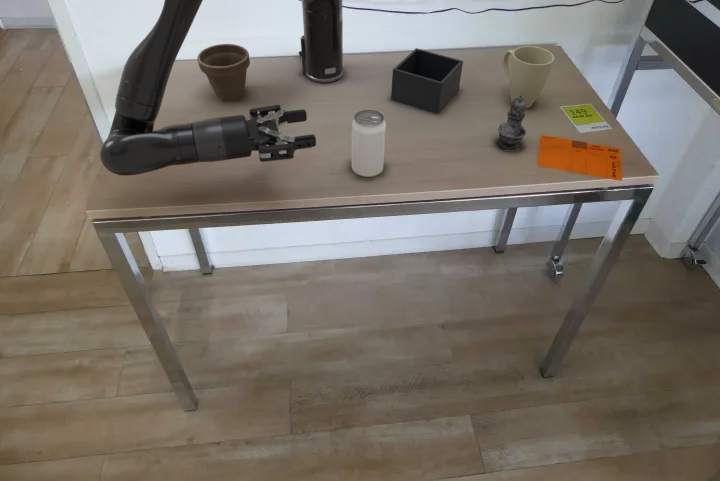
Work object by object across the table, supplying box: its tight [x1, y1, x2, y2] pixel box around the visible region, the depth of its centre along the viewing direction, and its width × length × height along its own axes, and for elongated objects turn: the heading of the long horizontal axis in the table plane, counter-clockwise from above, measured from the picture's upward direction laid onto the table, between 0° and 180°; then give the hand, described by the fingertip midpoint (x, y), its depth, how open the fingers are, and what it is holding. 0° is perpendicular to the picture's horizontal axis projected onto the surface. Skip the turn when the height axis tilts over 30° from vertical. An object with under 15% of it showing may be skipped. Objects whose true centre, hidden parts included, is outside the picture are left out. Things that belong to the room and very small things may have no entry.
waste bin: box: [390, 47, 464, 115], centre depth 132 cm, size 12×12×8 cm
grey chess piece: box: [496, 95, 527, 152], centre depth 117 cm, size 6×6×12 cm
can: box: [351, 108, 387, 178], centre depth 110 cm, size 6×6×12 cm
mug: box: [502, 45, 555, 109], centre depth 129 cm, size 11×10×12 cm
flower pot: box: [197, 43, 251, 102], centre depth 130 cm, size 12×11×10 cm
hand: (310, 127), depth 104 cm, fingers open, 8 cm apart
